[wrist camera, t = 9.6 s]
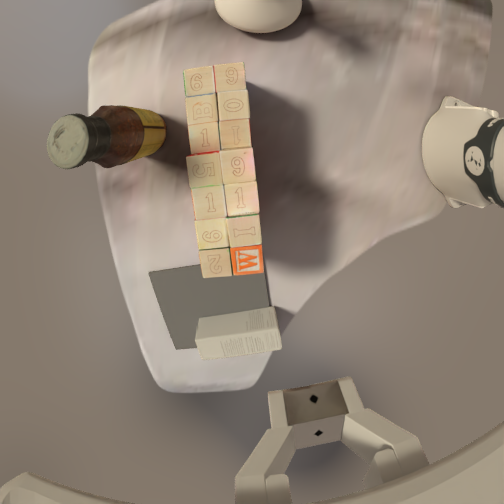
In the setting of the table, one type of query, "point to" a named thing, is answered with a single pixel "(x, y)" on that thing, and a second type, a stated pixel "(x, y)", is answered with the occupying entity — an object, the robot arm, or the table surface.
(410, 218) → the table surface
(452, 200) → the robot arm
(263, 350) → the skincare box
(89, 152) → the sauce bottle
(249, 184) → the stack of blocks
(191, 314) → the placemat
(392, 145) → the table surface
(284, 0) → the flower in vase
